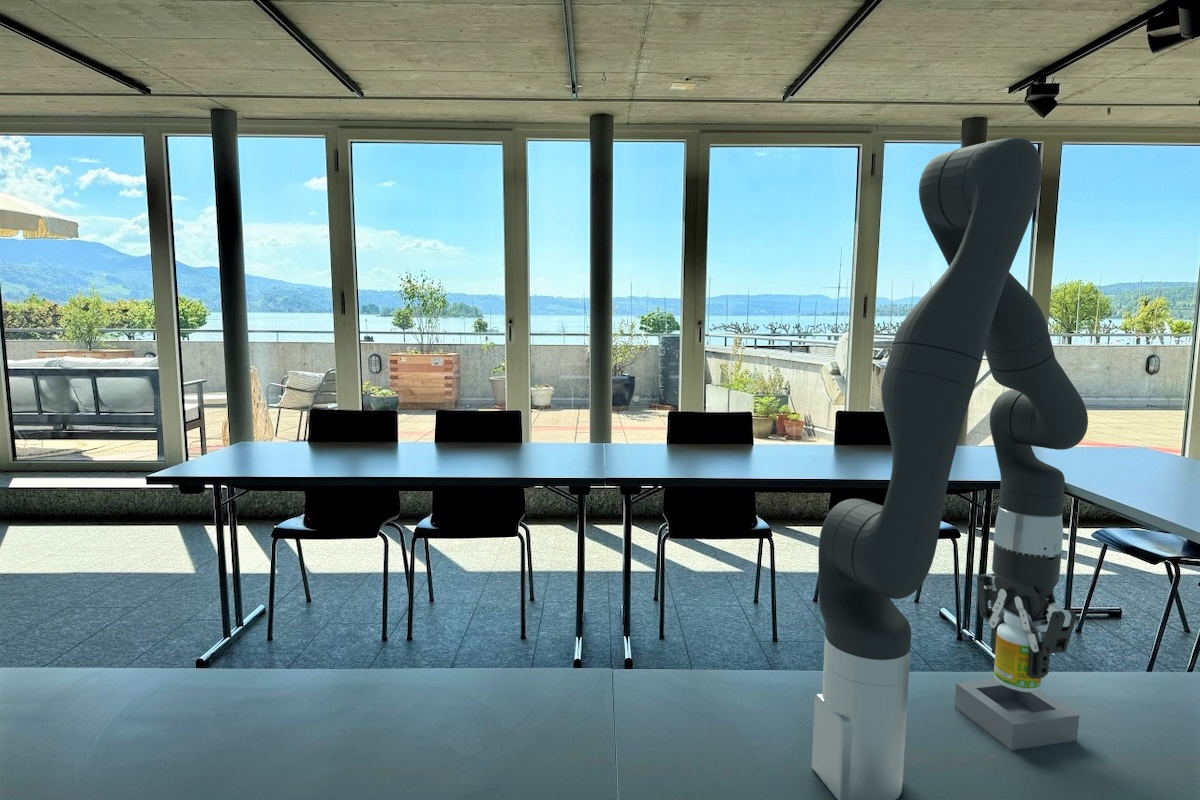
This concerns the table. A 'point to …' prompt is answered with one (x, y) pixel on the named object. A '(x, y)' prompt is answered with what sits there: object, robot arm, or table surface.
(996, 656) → the supplement bottle
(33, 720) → the table surface
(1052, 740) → the socket mount
